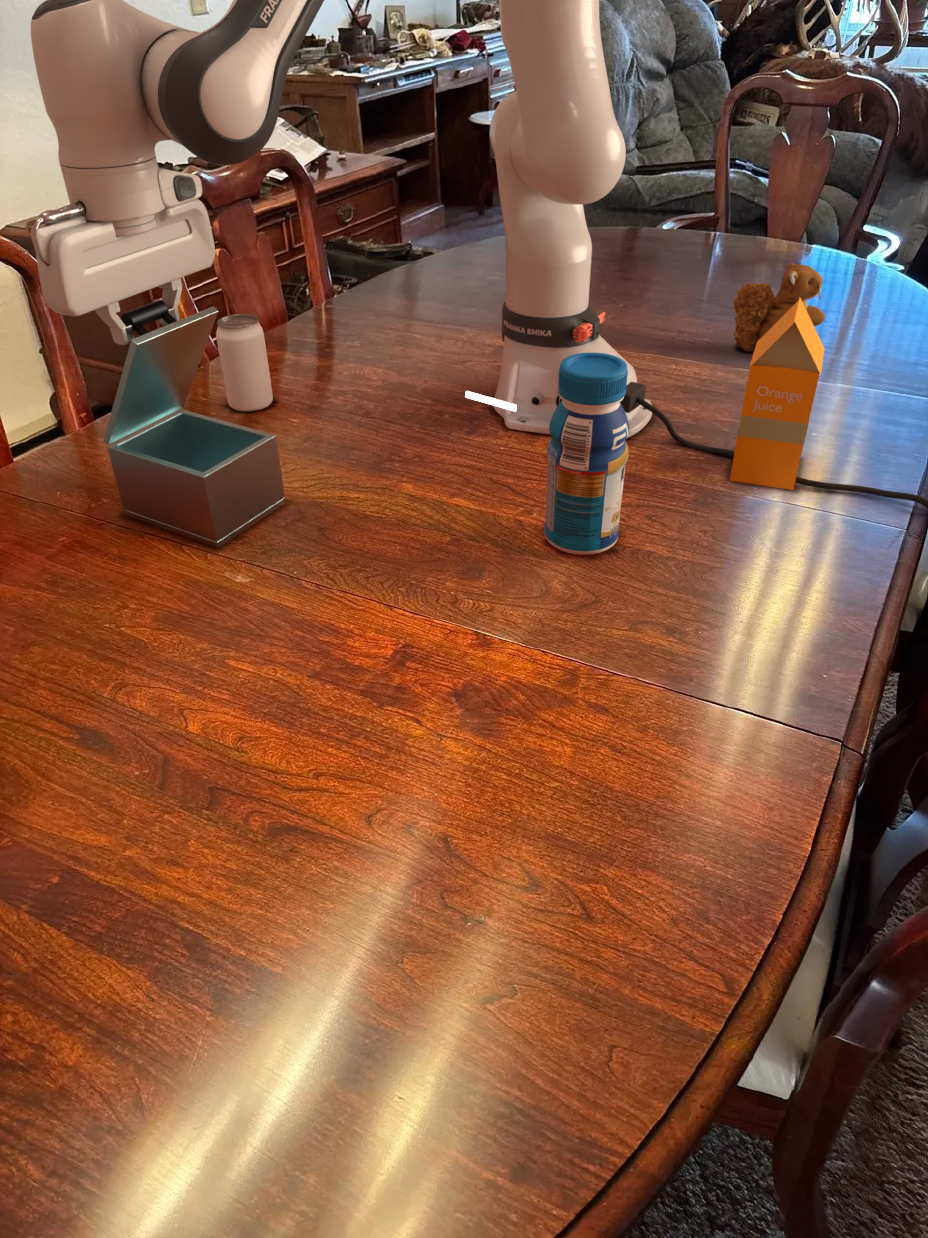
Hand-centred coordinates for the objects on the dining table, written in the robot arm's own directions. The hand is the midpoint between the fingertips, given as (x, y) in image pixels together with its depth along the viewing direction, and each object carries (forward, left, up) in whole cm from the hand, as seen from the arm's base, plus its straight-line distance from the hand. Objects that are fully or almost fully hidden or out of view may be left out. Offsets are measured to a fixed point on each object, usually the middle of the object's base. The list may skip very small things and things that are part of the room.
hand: (148, 332), depth 98 cm
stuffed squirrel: (-46, -83, -21) cm, 97 cm away
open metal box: (-3, 0, -21) cm, 21 cm away
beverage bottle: (-44, -16, -21) cm, 51 cm away
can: (+13, -26, -21) cm, 36 cm away
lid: (-1, 0, -5) cm, 5 cm away
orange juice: (-57, -42, -21) cm, 74 cm away
